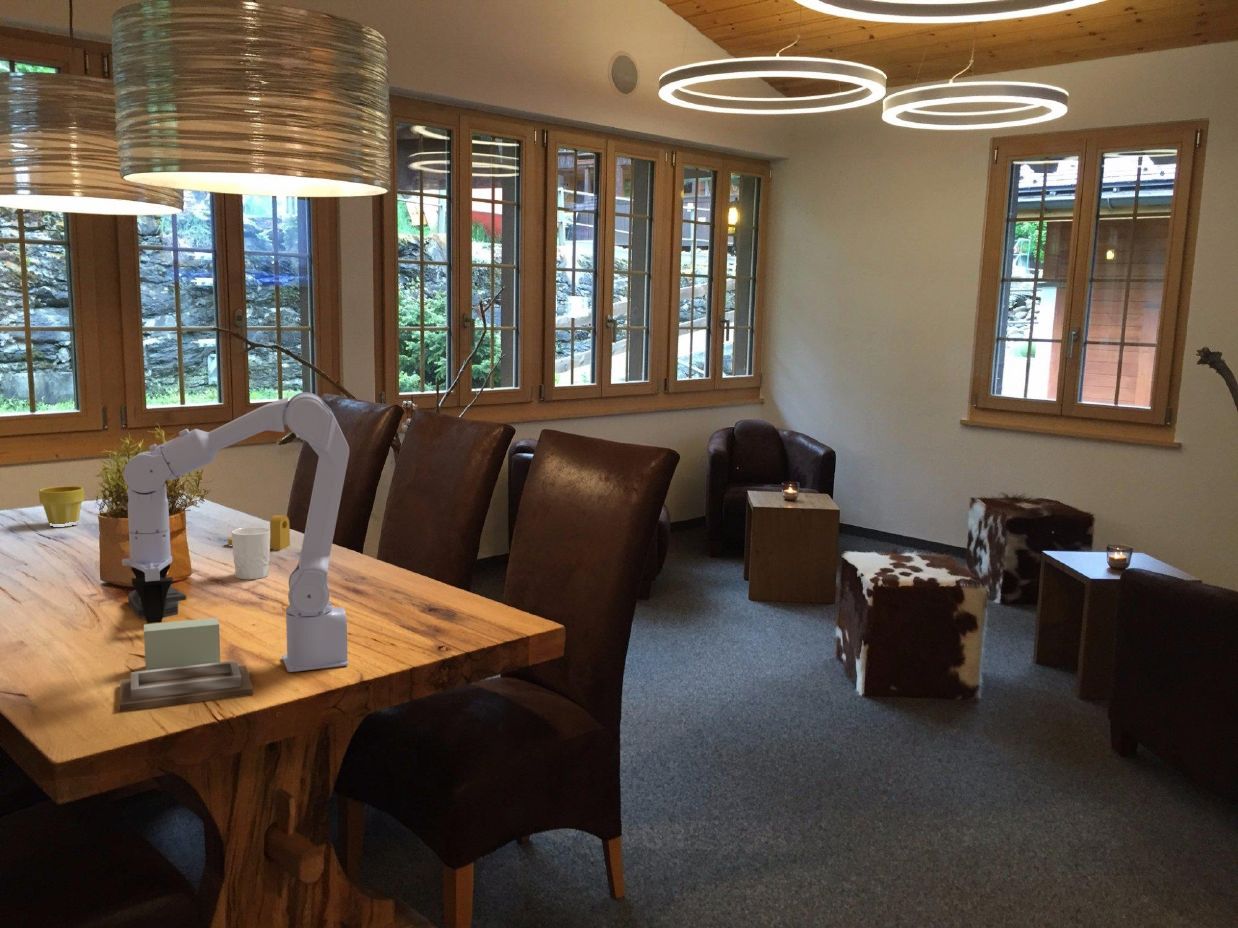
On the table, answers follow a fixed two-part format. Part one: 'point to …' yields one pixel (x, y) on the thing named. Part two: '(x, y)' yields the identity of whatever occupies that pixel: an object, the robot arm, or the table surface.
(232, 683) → the plate
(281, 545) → the bracket
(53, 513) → the plant pot
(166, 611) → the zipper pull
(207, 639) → the pale green block
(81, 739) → the table surface
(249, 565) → the white cup
